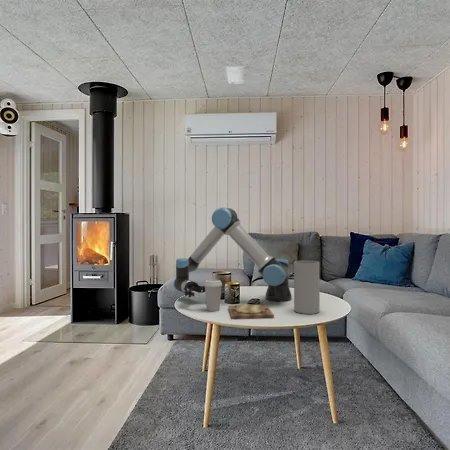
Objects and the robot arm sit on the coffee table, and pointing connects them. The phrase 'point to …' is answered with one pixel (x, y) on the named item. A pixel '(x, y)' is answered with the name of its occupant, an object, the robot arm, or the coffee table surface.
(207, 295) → the coffee cup
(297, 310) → the cylinder vase
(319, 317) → the coffee table surface
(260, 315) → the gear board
